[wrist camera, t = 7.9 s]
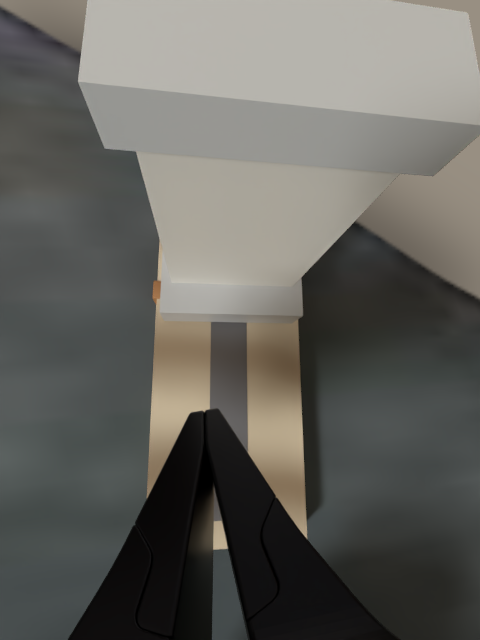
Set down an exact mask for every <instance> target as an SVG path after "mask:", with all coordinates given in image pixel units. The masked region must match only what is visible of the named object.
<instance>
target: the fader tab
mask: <svg viewBox="0 0 480 640" xmlns="http://www.w3.org/2000/svg"><path fill="white" fill-rule="evenodd" d="M78 83H79V85H80V88H81V90H82V93H83V95H84V98H85V100H86V103H87V105H88V108H89V110H90V113H91V115H92V118H93V120H94V123H95V125H96V128H97V130H98V133H99V135H100V138H101V140H102V143H103V145H104V148H105V149H116V150H128V151H136V153H137V157H138V161H139V164H140V168H141V172H142V175H143V179H144V183H145V186H146V190H147V194H148V197H149V201H150V205H151V208H152V212H153V216H154V219H155V223H156V227H157V231H158V234H159V238H160V242H161V245H162V249H163V251H162V272H161V293H160V314H161V316H162V318H163V320H164V321H193V322H243V323H293V322H295V321H296V320H298V319H299V318H301V317H302V316H303V301H302V279H301V277H302V276H303V275H304V274H305V273H306V272H307V271H308V270H309V269H310V268H311V267H312V266H313V265H314V264H315V262H316V261H317V260H318V259H319V258H320V257H321V256H322V255H323V254H324V253H325V252H326V251H327V250H328V249H329V248H330V247H331V246H332V245H333V244H334V243H335V242H336V241H337V239H338V238H339V237H340V236H341V235H342V234H343V233H344V232H345V231H346V230H347V229H348V228H349V227H350V226H351V225H352V224H353V223H354V222H355V221H356V220H357V218H358V217H359V216H360V215H361V214H362V213H363V212H364V211H365V210H366V209H367V208H368V207H369V206H370V205H371V204H372V203H373V202H374V201H375V200H376V199H377V198H378V197H379V195H380V194H381V193H382V192H383V191H384V190H385V189H386V188H387V187H388V186H389V185H390V184H391V183H392V182H393V181H394V180H395V179H396V177H398V176H399V175H400V174H413V175H424V176H434V175H435V174H436V173H437V172H439V171H440V170H441V169H442V168H443V167H444V166H445V165H446V164H448V163H449V162H450V161H451V160H452V159H453V158H454V157H455V156H457V155H458V154H459V153H460V152H461V151H462V150H463V149H464V148H466V147H467V146H468V145H469V144H470V143H471V142H472V141H473V140H475V139H476V138H477V137H478V136H479V135H480V74H479V69H478V63H477V58H476V53H475V47H474V42H473V37H472V32H471V26H470V21H469V16H468V13H467V12H461V11H455V10H448V9H442V8H436V7H429V6H422V5H416V4H409V3H404V2H397V1H391V0H88V1H87V10H86V19H85V27H84V35H83V44H82V52H81V61H80V69H79V78H78Z"/></svg>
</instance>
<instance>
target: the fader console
mask: <svg viewBox="0 0 480 640" xmlns="http://www.w3.org/2000/svg"><path fill="white" fill-rule="evenodd" d="M162 251H163V249H162V245H161V242H160V243H159V263H158V281H154V284H153V300H154V302H155V303H156V323H155V344H154V364H153V384H152V404H151V424H150V444H149V464H148V484H147V498H148V496H149V494H150V492H151V490H152V488H153V486H154V484H155V482H156V480H157V478H158V476H159V474H160V472H161V470H162V468H163V466H164V464H165V462H166V460H167V458H168V456H169V454H170V452H171V449H172V447H173V445H174V443H175V441H176V439H177V437H178V435H179V433H180V431H181V429H182V427H183V425H184V423H185V421H186V419H187V417H188V415H189V414H190V413H191V412H196V411H204V413H205V410H208V409H214V408H218V409H219V410H220V411H221V413H222V414H223V416H224V417H225V419H226V420H227V422H228V423H229V425H230V426H231V428H232V429H233V431H234V432H235V434H236V435H237V437H238V439H239V440H240V442H241V443H242V445H243V446H244V448H245V449H246V451H247V452H248V454H249V455H250V457H251V458H252V460H253V461H254V463H255V464H256V466H257V468H258V469H259V471H260V472H261V474H262V475H263V477H264V478H265V480H266V481H267V483H268V484H269V486H270V487H271V489H272V490H273V492H274V493H275V495H276V498H278V499H279V501H280V502H281V504H282V505H283V507H284V508H285V510H286V511H287V513H288V514H289V516H290V517H291V518H292V520H293V521H294V523H295V524H296V526H297V527H298V528H299V530H300V531H301V532H302V533H303V535H304V536H305V537H306V538H307V522H306V498H305V475H304V451H303V427H302V403H301V380H300V356H299V332H298V320H296V321H295V322H293V323H243V322H193V321H164V320H163V318H162V316H161V314H160V293H161V272H162ZM215 549H228V547H227V542H226V538H225V533H224V529H223V524H222V520H221V515H220V511H219V506H218V502H217V497H216V493H215V488H214V534H213V550H215Z"/></svg>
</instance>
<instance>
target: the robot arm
mask: <svg viewBox="0 0 480 640" xmlns="http://www.w3.org/2000/svg"><path fill="white" fill-rule="evenodd" d="M214 488H215V493H216V497H217V502H218V506H219V511H220V515H221V520H222V524H223V529H224V533H225V538H226V542H227V547H228V551H229V556H230V560H231V565H232V569H233V574H234V578H235V583H236V587H237V592H238V596H239V601H240V605H241V610H242V614H243V619H244V623H245V628H246V632H247V637H248V640H401V639H399V638H398V637H397V636H395V635H394V634H393V633H391V632H390V631H389V630H388V629H386V628H385V627H384V626H383V625H382V624H381V623H380V622H379V621H378V620H377V619H376V618H375V617H374V616H373V615H372V614H371V613H370V612H369V611H368V610H367V609H366V608H365V607H364V606H363V605H362V604H361V603H360V601H359V600H358V599H357V598H356V597H355V596H354V595H353V593H352V592H351V591H350V590H349V589H348V587H347V586H346V585H345V584H344V583H343V582H342V580H341V579H340V578H339V577H338V576H337V574H336V573H335V572H334V571H333V570H332V569H331V567H330V566H329V565H328V564H327V563H326V561H325V560H324V559H323V558H322V557H321V556H320V554H319V553H318V552H317V551H316V550H315V548H314V547H313V546H312V545H311V543H310V542H309V541H308V540H307V538H306V537H305V536H304V535H303V533H302V532H301V531H300V530H299V528H298V527H297V526H296V524H295V523H294V521H293V520H292V518H291V517H290V516H289V514H288V513H287V511H286V510H285V508H284V507H283V505H282V504H281V502H280V501H279V499H278V498H276V495H275V493H274V492H273V490H272V489H271V487H270V486H269V484H268V483H267V481H266V480H265V478H264V477H263V475H262V474H261V472H260V471H259V469H258V468H257V466H256V464H255V463H254V461H253V460H252V458H251V457H250V455H249V454H248V452H247V451H246V449H245V448H244V446H243V445H242V443H241V442H240V440H239V439H238V437H237V435H236V434H235V432H234V431H233V429H232V428H231V426H230V425H229V423H228V422H227V420H226V419H225V417H224V416H223V414H222V413H221V411H220V410H219V409H218V408H214V409H208V410H205V413H204V411H196V412H191V413H190V414H189V415H188V417H187V419H186V421H185V423H184V425H183V427H182V429H181V431H180V433H179V435H178V437H177V439H176V441H175V443H174V445H173V447H172V449H171V452H170V454H169V456H168V458H167V460H166V462H165V464H164V466H163V468H162V470H161V472H160V474H159V476H158V478H157V480H156V482H155V484H154V486H153V488H152V490H151V492H150V494H149V496H148V498H147V500H146V502H145V504H144V506H143V508H142V510H141V512H140V514H139V516H138V518H137V520H136V522H135V524H136V525H134V526H133V527H132V529H131V531H130V533H129V535H128V537H127V539H126V541H125V543H124V545H123V547H122V549H121V551H120V553H119V555H118V556H117V558H116V560H115V562H114V564H113V566H112V568H111V569H110V571H109V573H108V574H107V576H106V578H105V579H104V581H103V583H102V584H101V586H100V588H99V590H98V591H97V593H96V595H95V596H94V598H93V599H92V601H91V603H90V604H89V606H88V608H87V609H86V611H85V612H84V614H83V616H82V617H81V619H80V620H79V622H78V624H77V625H76V627H75V629H74V630H73V632H72V633H71V635H70V637H69V638H68V640H212V594H213V534H214Z"/></svg>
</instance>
